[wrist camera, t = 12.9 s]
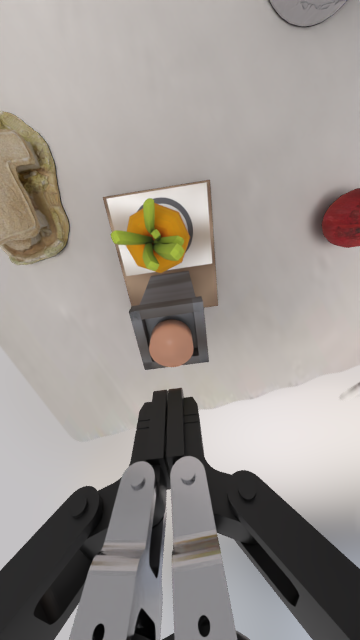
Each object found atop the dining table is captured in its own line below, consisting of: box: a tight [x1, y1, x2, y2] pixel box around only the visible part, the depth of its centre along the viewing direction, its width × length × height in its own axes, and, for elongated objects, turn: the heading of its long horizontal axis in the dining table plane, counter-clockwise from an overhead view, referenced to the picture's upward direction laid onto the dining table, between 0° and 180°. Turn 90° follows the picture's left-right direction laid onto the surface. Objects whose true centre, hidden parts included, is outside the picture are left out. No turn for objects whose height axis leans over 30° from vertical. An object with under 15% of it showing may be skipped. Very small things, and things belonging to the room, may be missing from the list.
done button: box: [149, 319, 194, 367], centre depth 17 cm, size 3×3×2 cm
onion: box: [322, 188, 360, 248], centre depth 22 cm, size 6×6×8 cm
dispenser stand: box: [103, 180, 218, 370], centre depth 21 cm, size 15×12×13 cm
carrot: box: [111, 198, 190, 273], centre depth 18 cm, size 5×5×15 cm
